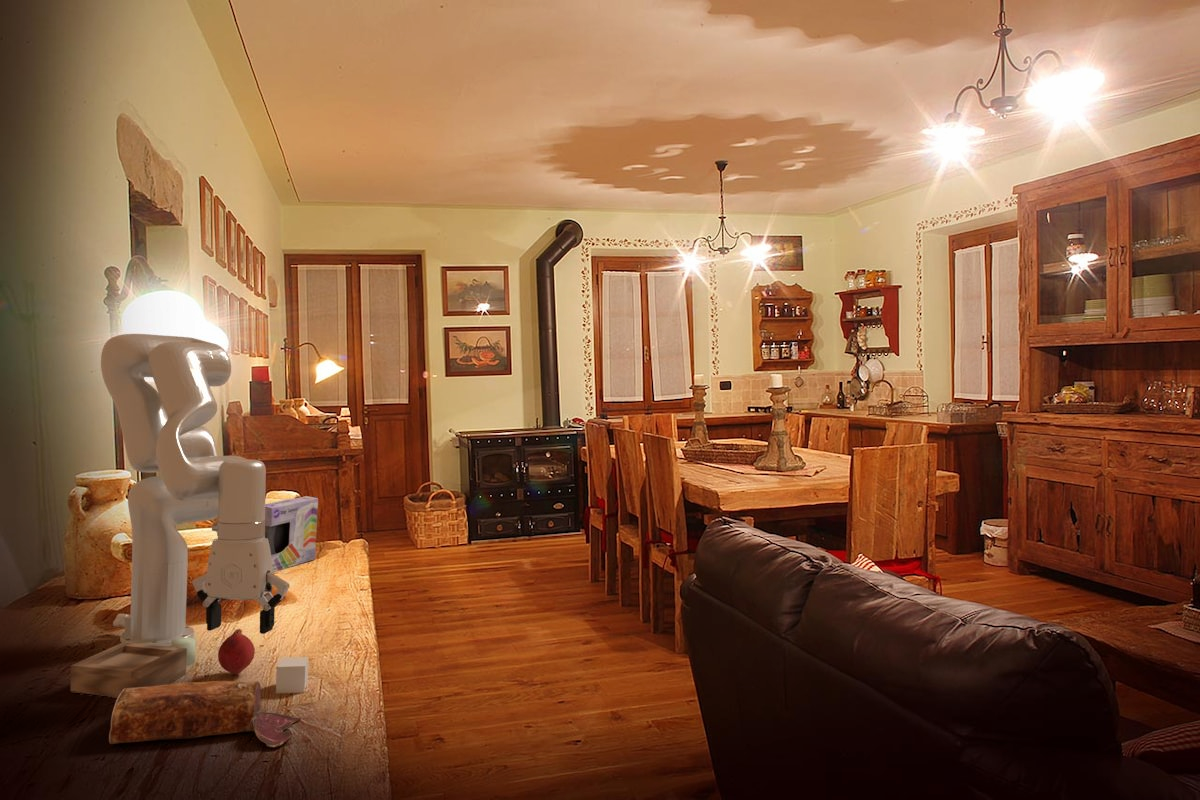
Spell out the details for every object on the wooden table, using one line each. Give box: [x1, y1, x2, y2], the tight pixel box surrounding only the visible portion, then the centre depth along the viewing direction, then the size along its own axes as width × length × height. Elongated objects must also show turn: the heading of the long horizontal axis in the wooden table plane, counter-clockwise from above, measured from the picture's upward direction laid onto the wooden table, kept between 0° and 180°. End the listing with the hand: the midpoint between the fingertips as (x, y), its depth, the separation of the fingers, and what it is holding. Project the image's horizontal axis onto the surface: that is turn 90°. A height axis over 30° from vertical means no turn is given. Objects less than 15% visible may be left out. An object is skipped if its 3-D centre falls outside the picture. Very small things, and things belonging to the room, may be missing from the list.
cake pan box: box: [265, 495, 319, 573], centre depth 224 cm, size 19×5×18 cm, turn 159°
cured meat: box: [108, 680, 303, 748], centre depth 124 cm, size 18×25×7 cm
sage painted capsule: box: [170, 637, 197, 667], centre depth 150 cm, size 4×4×4 cm
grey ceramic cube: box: [275, 656, 310, 694], centre depth 141 cm, size 4×4×4 cm
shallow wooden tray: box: [69, 642, 187, 699], centre depth 140 cm, size 12×12×4 cm
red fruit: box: [217, 628, 256, 676], centre depth 146 cm, size 6×6×8 cm
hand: (240, 630), depth 145 cm, fingers open, 9 cm apart
